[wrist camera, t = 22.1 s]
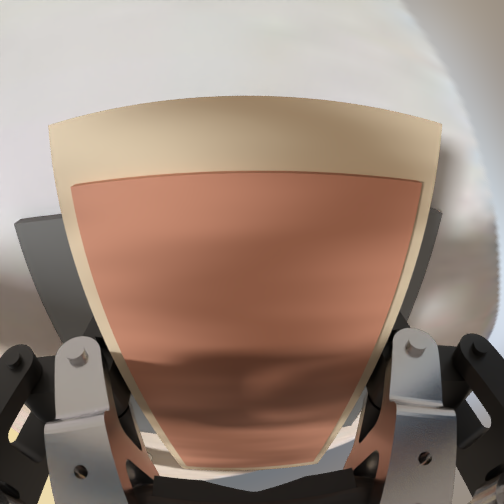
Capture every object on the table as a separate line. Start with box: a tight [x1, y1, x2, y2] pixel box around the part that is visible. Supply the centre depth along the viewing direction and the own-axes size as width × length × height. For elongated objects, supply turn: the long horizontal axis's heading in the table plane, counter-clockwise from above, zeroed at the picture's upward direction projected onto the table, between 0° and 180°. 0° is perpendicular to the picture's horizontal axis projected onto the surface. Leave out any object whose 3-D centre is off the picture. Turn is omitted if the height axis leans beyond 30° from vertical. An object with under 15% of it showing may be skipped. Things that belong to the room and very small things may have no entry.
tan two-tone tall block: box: [48, 96, 442, 471], centre depth 8 cm, size 6×4×13 cm
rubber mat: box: [14, 208, 442, 434], centre depth 15 cm, size 21×20×1 cm
